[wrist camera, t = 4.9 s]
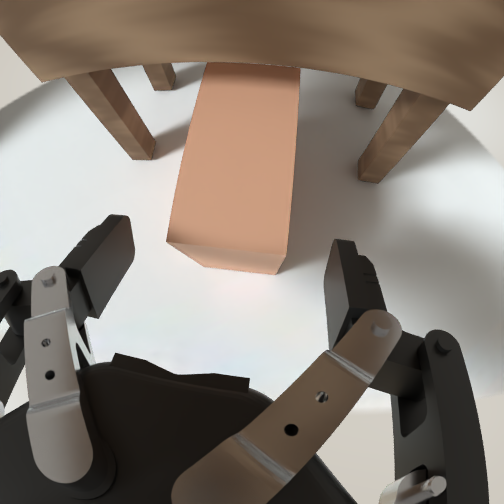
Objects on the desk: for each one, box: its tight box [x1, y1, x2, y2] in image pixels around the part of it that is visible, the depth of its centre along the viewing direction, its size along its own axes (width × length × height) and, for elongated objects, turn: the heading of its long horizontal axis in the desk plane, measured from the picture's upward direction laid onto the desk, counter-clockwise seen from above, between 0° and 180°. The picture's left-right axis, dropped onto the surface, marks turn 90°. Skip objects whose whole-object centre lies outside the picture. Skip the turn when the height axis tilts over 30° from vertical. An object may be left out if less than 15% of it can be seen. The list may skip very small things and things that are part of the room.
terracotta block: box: [166, 62, 300, 275], centre depth 16 cm, size 4×9×8 cm, turn 173°
